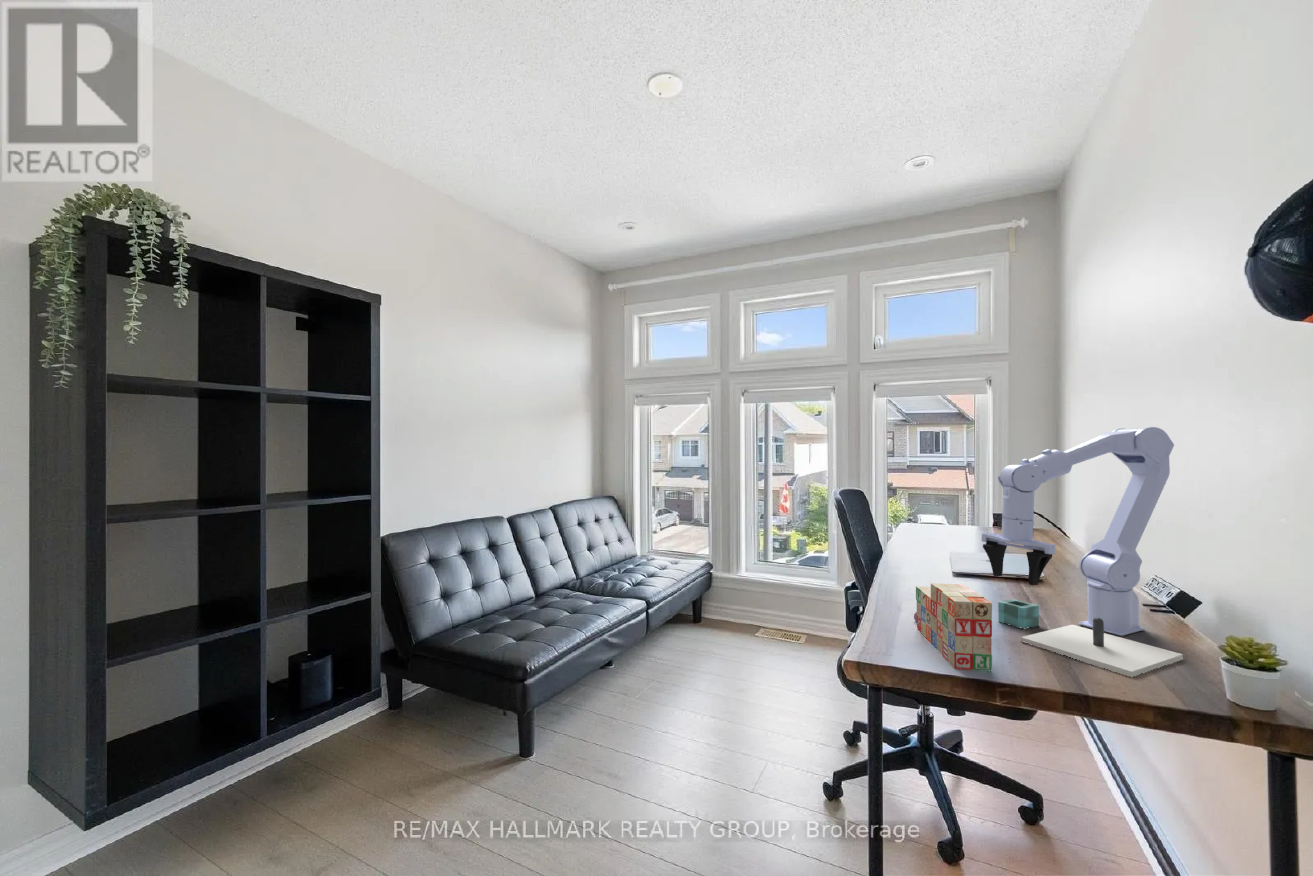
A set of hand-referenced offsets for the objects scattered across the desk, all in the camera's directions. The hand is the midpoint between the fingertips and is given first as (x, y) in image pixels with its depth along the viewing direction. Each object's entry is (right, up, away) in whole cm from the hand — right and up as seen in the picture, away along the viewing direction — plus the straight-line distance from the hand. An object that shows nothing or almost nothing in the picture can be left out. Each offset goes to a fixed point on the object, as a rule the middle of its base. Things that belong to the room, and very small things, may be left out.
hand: (1015, 580), depth 117 cm
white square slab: (+6, -10, -15) cm, 19 cm away
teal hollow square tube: (+1, -10, 0) cm, 10 cm away
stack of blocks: (-22, -10, -14) cm, 28 cm away
